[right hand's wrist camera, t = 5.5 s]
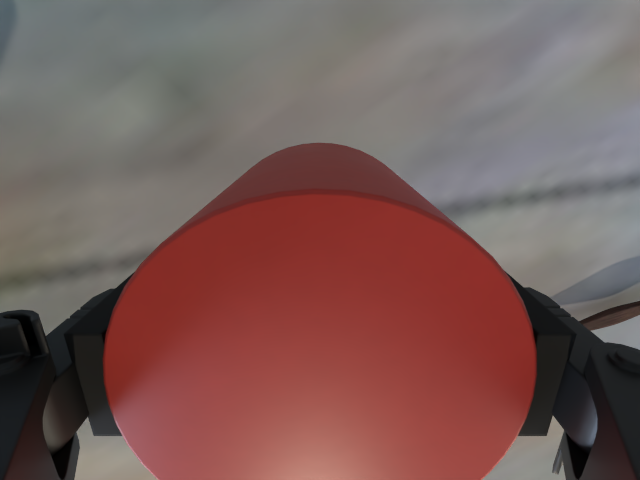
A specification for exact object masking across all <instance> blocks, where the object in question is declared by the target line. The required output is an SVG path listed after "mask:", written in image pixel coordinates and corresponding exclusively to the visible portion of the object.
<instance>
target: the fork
mask: <svg viewBox="0 0 640 480" xmlns="http://www.w3.org/2000/svg"><path fill="white" fill-rule="evenodd" d="M638 315H640V301H638V302H633V303H629V304H625V305H621V306H617V307H614V308H610V309H607V310H605V311H602V312H600V313H597V314H595V315H593V316H590V317H588V318H586V319H583V320H581V321H579V322H580V323H581V324H582V325H583V326H585V327H586V328H587V329H588V330H590V331H591V330H595V329H600V328H604V327H608V326H611V325H615V324H618V323H620V322H623V321H626V320H628V319H631V318H633V317H635V316H638Z"/></svg>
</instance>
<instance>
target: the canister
mask: <svg viewBox="0 0 640 480" xmlns="http://www.w3.org/2000/svg"><path fill="white" fill-rule="evenodd" d="M103 376H104V385H105V390H106V395H107V399H108V404H109V407H110V409H111V412H112V415H113V417H114V420H115V422H116V425H117V427H118V429H119V430H120V432H121V434H122V436H123V437H124V439H125V441H126V443H127V445H128V446H129V447H130V449H131V450H132V451H133V452H134V454H135V455H136V456H137V458H138V459H139V460H140V462H141V463H142V464H143V465H144V466H145V467H146V468H147V469H148V470H149V471H150V472H151V473H152V474H153V475H154V476H155V477H156V478H157V479H158V480H482V479H483V478H484V477H485V476H486V475H487V474H488V473H490V471H491V470H492V469H493V468H494V467H495V466H496V465H497V464H498V462H499V461H500V460H501V459H502V458H503V457H504V456H505V454H506V453H507V451H508V450H509V448H510V447H511V445H512V444H513V442H514V441H515V440H516V438H517V436H518V434H519V432H520V430H521V428H522V426H523V424H524V422H525V420H526V418H527V415H528V412H529V409H530V406H531V403H532V400H533V396H534V390H535V384H536V377H537V350H536V344H535V339H534V333H533V328H532V324H531V321H530V318H529V316H528V313H527V310H526V307H525V305H524V302H523V300H522V298H521V296H520V295H519V293H518V291H517V289H516V288H515V286H514V284H513V282H512V281H511V279H510V277H509V276H508V275H507V274H506V273H505V271H504V270H503V269H502V268H501V266H500V265H499V264H498V263H497V261H496V260H495V259H494V258H493V257H492V256H491V255H490V254H489V253H488V252H487V251H486V250H485V249H484V248H482V247H481V246H480V245H479V244H478V243H477V242H476V241H475V240H474V239H472V238H471V237H470V236H469V235H468V234H467V233H465V232H464V231H463V230H462V229H461V228H459V227H458V226H457V225H456V224H455V223H454V222H452V221H451V220H450V219H449V218H448V217H446V216H445V215H444V214H443V213H442V212H440V211H439V210H438V209H437V208H436V207H434V206H433V205H432V204H431V203H430V202H429V201H427V200H426V199H425V198H424V197H423V196H421V195H420V194H419V193H418V192H417V191H415V190H414V189H413V188H412V187H411V186H409V185H408V184H407V183H406V182H405V181H404V180H402V179H401V178H400V177H399V176H398V175H396V174H395V173H394V172H393V171H392V170H390V169H389V168H388V167H387V166H386V165H384V164H383V163H381V162H380V161H378V160H377V159H376V158H374V157H372V156H370V155H368V154H366V153H364V152H362V151H360V150H357V149H354V148H351V147H348V146H343V145H338V144H332V143H310V144H301V145H297V146H293V147H289V148H286V149H283V150H281V151H278V152H275V153H274V154H272V155H270V156H268V157H266V158H264V159H263V160H261V161H260V162H259V163H257V164H256V165H255V166H253V167H252V168H251V169H249V170H248V171H247V172H246V173H245V174H244V175H242V176H241V177H240V178H239V179H238V180H236V181H235V182H234V183H233V184H232V185H230V186H229V187H228V188H227V189H226V190H224V191H223V192H222V193H221V194H220V195H218V196H217V197H216V198H215V199H214V200H212V201H211V202H210V203H209V204H208V205H206V206H205V207H204V208H203V209H202V210H201V211H199V212H198V213H197V214H196V215H195V216H193V217H192V218H191V219H190V220H189V221H187V222H186V223H185V224H184V225H183V226H181V227H180V228H179V229H178V230H177V231H175V232H174V233H173V234H172V235H171V236H169V237H168V238H167V239H166V240H165V241H163V242H162V243H161V244H160V245H159V246H158V247H157V248H156V249H155V250H154V251H153V252H152V253H151V254H150V255H149V256H148V257H147V258H146V259H145V260H144V261H143V262H142V263H141V264H140V266H139V267H138V268H137V270H136V271H135V273H134V274H133V275H132V277H131V278H130V279H129V281H128V282H127V284H126V285H125V287H124V289H123V291H122V293H121V295H120V297H119V299H118V301H117V303H116V305H115V307H114V309H113V312H112V315H111V318H110V322H109V325H108V328H107V332H106V336H105V344H104V353H103Z"/></svg>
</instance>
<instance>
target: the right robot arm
mask: <svg viewBox="0 0 640 480" xmlns="http://www.w3.org/2000/svg"><path fill="white" fill-rule="evenodd" d="M134 273H135V272H134ZM134 273H133V274H134ZM505 273H506V272H505ZM133 274H132V275H133ZM506 274H507V273H506ZM132 275H131V276H129V277H128V278H127V279H126V280H125V281H124V282H122V283H121V284H120V285H119V286H118V287H117V288H116V289H109V290H107V291H105V292H103V293H101V294H99V295H97V296H95V297H93V298H92V299H91V300H89V301H88V302H87V303H86V304H84V305H83V306H82V307H81V309H80V310H77V311H76V312H75V313H74V314H72V315H71V316H70V319H66V320H65V321H64V322H63V323H61V324H60V325H59V326H58V327H57V328H55V329H54V330H53V331H52V332H50V333H49V334H48V335H47V336H45V333H44V330H43V327H42V324H41V321H40V317H39V314H37V313H36V312H34V311H30V310H15V311H7V312H3V313H0V480H74V477H75V472H76V466H77V460H78V455H79V449H80V446H79V439H78V436H77V433H76V431H77V430H78V429H79V427H80V426H81V425H82V423H83V422H84V421H85V419H86V418H87V417H88V418H89V421H90V425H91V428H92V431H93V435H94V436H122V434H121V432H120V430H119V429H118V427H117V425H116V422H115V420H114V417H113V415H112V412H111V409H110V407H109V404H108V399H107V395H106V390H105V385H104V376H103V353H104V344H105V336H106V332H107V328H108V325H109V322H110V318H111V315H112V312H113V309H114V307H115V305H116V303H117V301H118V299H119V297H120V295H121V293H122V291H123V289H124V287H125V285H126V284H127V282H128V281H129V279H130V278H131V277H132ZM507 275H508V276H509V277H510V279H511V281H512V282H513V284H514V286H515V288H516V289H517V291H518V293H519V295H520V296H521V298H522V300H523V302H524V305H525V307H526V310H527V313H528V316H529V318H530V321H531V324H532V328H533V333H534V339H535V344H536V350H537V377H536V384H535V390H534V396H533V400H532V403H531V406H530V409H529V412H528V415H527V418H526V420H525V422H524V424H523V426H522V428H521V430H520V432H519V434H518V436H547V432H548V429H549V426H550V422H551V419H552V416H554V417H555V418H556V420H557V421H558V422H559V424H560V425H561V426H562V428H563V429H564V433H563V436H562V439H561V442H560V445H559V449H558V452H557V455H556V458H555V461H554V464H553V471H552V473H555V474H559V471H560V468H561V466H562V465H564V471H565V476H566V480H640V350H638V349H635V348H632V347H629V346H625V345H622V344H615V343H608V342H607V343H604V342H603V341H602V340H601V339H599V338H598V337H597V336H596V335H594V334H593V333H592V332H591V331H590V330H588V329H587V328H586V327H585V326H583V325H582V324H581V323H580V322H579V321H577V320H576V319H575V318H574V317H571V315H570V314H569V313H568V312H566V311H565V310H564V309H563V308H560V306H559V305H558V304H557V303H555V302H554V301H553V300H552V299H550V298H549V297H548V296H546V295H544V294H542V293H540V292H538V291H536V290H534V289H532V288H524V287H522V286H521V285H520V284H519V283H518V282H517V281H515V280H514V279H513V278H512V277H511V276H510V275H509V274H507Z"/></svg>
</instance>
